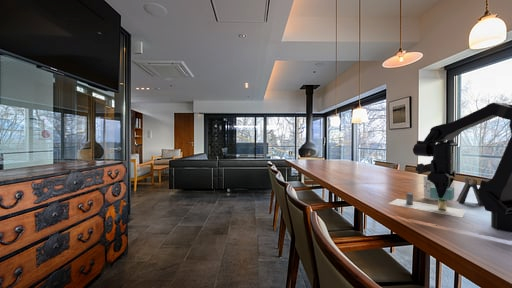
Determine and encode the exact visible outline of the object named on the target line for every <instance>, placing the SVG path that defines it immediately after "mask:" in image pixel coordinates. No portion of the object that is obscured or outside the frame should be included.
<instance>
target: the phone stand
mask: <svg viewBox="0 0 512 288" xmlns="http://www.w3.org/2000/svg"><path fill="white" fill-rule="evenodd" d="M471 180H472V182H469V181H471ZM471 188H472V190H473V193H474V196H475V199H476V201H477V203H475V202H471V204H472V205H479V206H481V207H484V205H483V203H482V201H481V200H480V198H479V197H478V193H479V191H477V190H478V189H479V187H478V181H477V180H476V179H475V178H473V177H469V176H466V177H465V178H464V185H463V187H462V189H461V191H460V193H459V195H458V197H457V199H456V202H457V203H458V204H466V203H467V204H469V202H467V201H466V199H467V198H468V194H469V192H470V189H471Z"/></svg>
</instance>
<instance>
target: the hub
mask: <svg viewBox="0 0 512 288" xmlns="http://www.w3.org/2000/svg"><path fill="white" fill-rule="evenodd" d="M437 205H438V210H442V211H447V207H448V204H447V200H443V199H438V200H437Z"/></svg>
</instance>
